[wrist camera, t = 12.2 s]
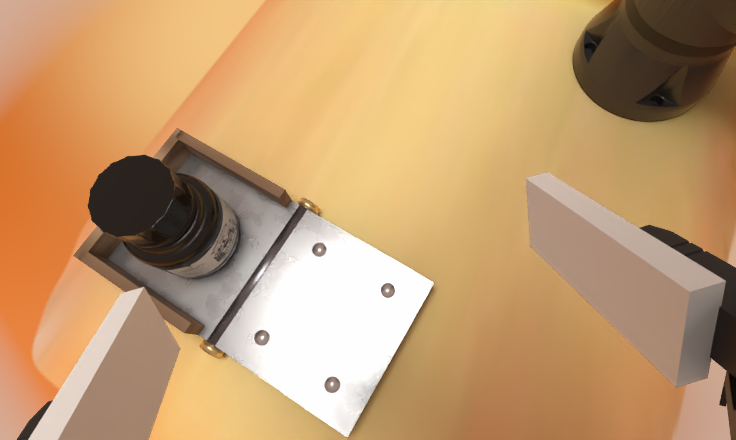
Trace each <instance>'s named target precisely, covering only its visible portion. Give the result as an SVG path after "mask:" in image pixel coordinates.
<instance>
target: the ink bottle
mask: <svg viewBox="0 0 736 440" xmlns="http://www.w3.org/2000/svg"><path fill="white" fill-rule="evenodd" d="M88 208H89V211H90V214H91V220H92V221H93V222H94V223H95V224H96V225H97V226H98V227H99V228H100V229H101V231H102V232H104V233H106V234H109V235H111V236H113V237H116V238H118V239H120V240H122V242H123V244H124V246H125V247H126V249H127V250H128V251H129V253H130V254H131V255H133V256H134V257H135V258H136V259H138V260H139V261H141V262H143V263H145V264H147V265H150V266H153V267H155V268H158V269H160V270H163V271H166V272H168V273H171V274H174V275H176V276H179V277H184V278H200V277H204V276H207V275H210V274H212V273H213V272H215V271H217V270H218V269H219V268H221V267H222V266H223V265H224V264H225V263H226V262H227V261H228V259H229V258H230V257H231V255H232V253H233V252H234V250H235V247H236V245H237V242H238V238H239V223H238V219H237V217H236V215H235V213H234V211H233V210H232V209H231V207H230V206H229V205H228V203H227V202H226V201H225V200H223V199H222V198H221V197H220V196H219V195H218V194H217V193H216V192H215V191H213V190H212V189H211V188H210V187H209V186H207V185H206V184H205V183H204V182H202V181H201V180H199V179H197V178H195V177H193V176H191V175H187V174H182V173H175V172H173V171H172V170H171V169H170V168H169V167H167V166H166V165H165V164H164V163H163V162H162V161H160V160H159V159H155V158H152V157H149V156H147V155H141V156H127V157H125V158H124V159H121V160H119V161H117V162H113V163H112V164H110V166H109V167H108V168H107V169H105V170H104V171H103V172H102V173H101V174H99V175H98V178H97V180H96V182H95V183H94V185H93V187H92V188H91V190H90V197H89V203H88Z"/></svg>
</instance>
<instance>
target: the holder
mask: <svg viewBox="0 0 736 440" xmlns="http://www.w3.org/2000/svg"><path fill="white" fill-rule="evenodd" d="M191 153H193V154H194V155H196V156H198V157H199V158H201V159H203V160H205V161H206V162H208V163H210V164H212V165H213V166H215V167H217V168H218V169H220V170H222V171H224V172H225V173H227V174H229V175H230V176H232V177H234V178H236V179H237V180H239V181H241V182H242V183H244V184H246V185H248V186H249V187H251V188H253V189H254V190H256V191H258V192H260V193H261V194H263V195H265V196H266V197H268V198H270V199H272V200H273V201H275V202H277V203H278V204H280V205H282V206H284V207H285V208H287V207H288V205H289V204H290V202H291V201H292V200H291V198H290V197H289V195H288V194H287V192H286V190H285V189H283V188H281V187H279V186H278V185H276V184H274V183H272V182H271V181H269V180H267V179H265V178H264V177H262V176H260V175H258V174H257V173H255V172H253V171H251V170H250V169H248V168H246V167H244V166H243V165H241V164H239V163H237V162H236V161H234V160H232V159H230V158H229V157H227V156H225V155H223V154H222V153H220V152H218V151H216V150H215V149H213V148H211V147H209V146H208V145H206V144H204V143H202V142H201V141H199V140H197V139H195V138H194V137H192V136H190V135H188V134H187V133H185V132H183V131H181V130H180V129H178V128H177V129H176V130H175V131H174V133H173V134H172V135H171V136H170V137H169V139H168V140H167V141H166V142H165V144H164V145H163V146H162V147H161V149H160V150H159V151H158V152H157V153H156V155H155V156H154V157H153V158H155V159H159V160H160V161H162V162H163V163H164V164H165V165H166V166H167V167H169V168H170V169H171V170H172V171H173V172H175V173H176V172H177V170H178V169H179V168H180V167H181V165H182V164H183V163H184V162H185V160H186V159H187V158H188V156H189V155H190V154H191ZM121 241H122V240H120V239H118V238H116V237H113V236H111V235H109V234H106V233H104V232H102V231H101V229H100V228H99V227H98V226H97V227H96V228H95V230H94V231H93V232H92V233H91V234H90V236H89V237H88V238H87V239H86V241H85V242H84V243H83V244H82V245H81V247H80V248H79V249H78V250H77V252H76V253H75V254H74V255H73V256H75V257H76V258H78V259H79V260H80V261H82V262H83V263H85V264H86V265H88V266H89V267H90V268H92V269H93V270H95V271H96V272H98V273H99V274H100V275H102V276H103V277H105V278H106V279H108V280H109V281H110V282H112V283H113V284H115V285H116V286H118V287H119V288H121V289H122V290H123V291H125V292H128V291H131V290H135V289H138V288H142V287H145V289H146V291H147V293H148V294H149V296H150V298H151V299H152V301H153V303H154V304H155V306H156V308H157V309H158V311H159V313H160V315H161V316H162V318H163V319H165V320H166V321H168V322H169V323H171V324H172V325H173V326H175V327H176V328H178V329H179V330H181V331H182V332H183V333H188V334H196V335H199V334H200V332H201V331H202V329H203V328H204V326H205V325H203V324H202V323H200V322H199V321H198V320H196V319H195V318H193V317H192V316H190V315H189V314H187V313H186V312H184V311H183V310H181V309H180V308H179V307H177V306H176V305H174V304H173V303H171V302H170V301H168V300H167V299H165V298H164V297H163V296H161V295H160V294H158V293H157V292H155V291H154V290H152V289H151V288H149V287H148V286H146V285H145V284H144V283H142V282H141V281H139V280H138V279H136V278H135V277H133V276H132V275H130V274H129V273H128V272H126V271H125V270H123V269H122V268H120V267H119V266H117V265H116V264H114V263H113V262H111V261H110V260H109V259H108V258H109V256H110V255H111V254H112V253H113V251H114V250H115V249H116V248H117V246H118V245H119V244H120V243H121Z"/></svg>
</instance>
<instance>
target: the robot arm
mask: <svg viewBox="0 0 736 440" xmlns="http://www.w3.org/2000/svg"><path fill="white" fill-rule="evenodd" d="M735 46H736V0H614V1H613V2H611V3H610V4H609V5H608V6H607V7H605V8H604V9H603V10H602V11H601V12H599V13H598V14H597V15H596V16H595V17H594V18H593V19H592V20H591V21H590V22H589V23H588V25H587V26H586V28H585V29H584V31H583V33H582V34H581V36H580V38H579V39H578V41H577V43H576V46H575V49H574V53H573V66H574V71H575V74H576V77H577V79H578V81H579V83H580V85H581V87H582V88H583V89H584V91H585V92H586V93H587V94H588V95H589V96H590V98H592V99H593V100H594V101H595V102H596V103H597V104H599V105H600V106H602V107H603V108H605V109H606V110H608V111H610V112H612V113H614V114H617V115H619V116H622V117H625V118H629V119H633V120H639V121H660V120H666V119H670V118H673V117H676V116H679V115H681V114H683V113H685V112H686V111H688V110H689V109H690V108H692V107H693V106H694V105H695V104H696V103H698V102H699V101H700V100H701V99H702V98H704V97H705V96H706V95H707V94H708V92H709V91H710V90H711V89H712V87H713V86H714V84H715V83H716V81H717V79H718V77H719V75H720V73H721V72H722V70H723V68H724V66H725V64H726V62H727V60H728V58H729V57H730V55H731V53H732V51H733V49H734V47H735ZM526 189H527V204H528V219H529V234H530V247H531V248H532V249H533V250H534V251H535V252H536V253H538V254H539V255H540V256H541V257H542V258H543V259H544V260H545V261H546V262H547V263H548V264H549V265H550V266H551V267H552V268H553V269H554V270H555V271H556V272H557V273H558V274H559V275H560V276H561V277H562V278H563V279H564V280H565V281H566V282H567V283H568V284H569V285H571V286H572V287H573V288H574V289H575V290H576V291H577V292H578V293H579V294H580V295H581V296H582V297H583V298H584V299H585V300H586V301H587V302H588V303H589V304H590V305H591V306H592V307H593V308H594V309H595V310H596V311H597V312H598V313H599V314H600V315H601V316H602V317H604V318H605V319H606V320H607V321H608V322H609V323H610V324H611V325H612V326H613V327H614V328H615V329H616V330H617V331H618V332H619V333H620V334H621V335H622V336H623V337H624V338H625V339H626V340H627V341H628V342H629V343H630V344H631V345H632V346H633V347H634V348H635V349H637V350H638V351H639V352H640V353H641V354H642V355H643V356H644V357H645V358H646V359H647V360H648V361H649V362H650V363H651V364H652V365H653V366H654V367H655V368H656V369H657V370H658V371H659V372H660V373H661V374H662V375H663V376H664V377H665V378H666V379H667V380H668V381H670V382H671V383H672V384H673V385H674V386H675V387H676V388H677V387H680V386H683V385H686V384H690V383H693V382H696V381H699V380H702V379H706V378H708V373H709V367H710V362H711V358H712V359H713V360H714V361H715V362H717V363H718V364H719V365H720V366H722V367H723V368H724V369H725V370H727V372H726V377H725V382H724V387H723V390H722V395H721V400H720V404H719V405H722V406H726V404H727V409H728V417H729V426H730V435H731V440H736V268H735V267H733V266H732V265H730V264H728V263H726V262H725V261H723V260H721V259H719V258H717V257H716V256H714V255H712V254H710V253H709V252H707V251H705V252H704V251H703V249H702V248H700V247H698V246H696V245H694V244H693V243H689V241H687V240H686V239H684V238H682V237H680V236H679V235H677V234H675V233H673V232H671V231H668V230H665V229H661V228H658V227H655V226H651V225H648V226H644V227H641V228H638V227H637V226H635V225H633V224H632V223H630V222H628V221H627V220H625V219H623V218H622V217H620V216H618V215H617V214H615V213H614V212H612V211H610V210H609V209H607V208H605V207H604V206H602V205H600V204H599V203H597V202H596V201H594V200H592V199H591V198H589V197H587V196H586V195H584V194H582V193H581V192H579V191H577V190H576V189H574V188H573V187H571V186H569V185H568V184H566V183H564V182H563V181H561V180H559V179H558V178H556V177H554V176H553V175H551V174H550V173H548V172H546V173H542V174H539V175H535V176H532V177H528V178H526ZM179 351H180V347H179V345H178V343H177V342H176V340H175V338H174V337H173V335H172V333H171V331H170V330H169V328H168V326H167V325H166V323H165V321H164V320H163V318H162V316H161V315H160V313H159V311H158V309H157V308H156V306H155V304H154V303H153V301H152V299H151V298H150V296H149V294H148V293H147V291H146V289H145V287H142V288H138V289H135V290H131V291H128V292H124V293H121V294H120V296H119V297H118V299H117V301H116V302H115V304H114V305H113V307H112V308H111V310H110V312H109V313H108V315H107V316H106V318H105V320H104V321H103V323H102V324H101V326H100V327H99V329H98V331H97V332H96V334H95V335H94V337H93V338H92V340H91V342H90V343H89V345H88V346H87V348H86V349H85V351H84V353H83V354H82V356H81V357H80V359H79V360H78V362H77V364H76V365H75V367H74V368H73V370H72V371H71V373H70V375H69V376H68V378H67V379H66V381H65V382H64V384H63V386H62V387H61V389H60V390H59V392H58V393H57V395H56V397H55V398H54V400H53V401H49V402H47V403H46V404H45V405H44V406H43V407H42V408H41V409H40V410H39V411H38V412H37V413H36V414H35V415H34V416H33V417H32V419H30V421H29V422H28V423H27V425H26V426H25V428H24V430H23V431H22V432H21V434H20V435H19V437H18V438H17V440H149V437H150V434H151V431H152V428H153V425H154V422H155V419H156V417H157V414H158V411H159V408H160V405H161V402H162V399H163V397H164V394H165V391H166V388H167V385H168V382H169V379H170V377H171V374H172V371H173V368H174V365H175V362H176V359H177V357H178V354H179Z"/></svg>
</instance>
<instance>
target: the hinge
mask: <svg viewBox="0 0 736 440" xmlns="http://www.w3.org/2000/svg"><path fill="white" fill-rule="evenodd" d="M176 173H182V174H187V175H191V176H193V177H195V178H197V179H199V180H201V181H202V182H204V183H205V184H206V185H207V186H209V187H210V188H211V189H212V190H213V191H215V192H216V193H217V194H218V195H219V196H220V197H221V198H222V199H223V200H225V201H226V202H227V203H228V205H229V206H230V207H231V209H232V210H233V211H234V213H235V215H236V217H237V219H238V223H239V238H238V242H237V245H236V247H235V250H234V252H233V253H232V255H231V257H230V258H229V259H228V261H227V262H226V263H225V264H224V265H223V266H222V267H221V268H219V269H218V270H217V271H215V272H213V273H212V274H210V275H207V276H204V277H200V278H184V277H179V276H176V275H174V274H171V273H168V272H166V271H163V270H160V269H158V268H155V267H153V266H150V265H147V264H145V263H143V262H141V261H139V260H138V259H136V258H135V257H134V256H133V255H131V254H130V253H129V251H128V250H127V249H126V247H125V246H124V244H123V242H122V241H121V243H120V244H119V245H118V246H117V248H116V249H115V250H114V251H113V253H112V254H111V255H110V256H109V258H108V259H109V260H110V261H111V262H113V263H114V264H116V265H117V266H119V267H120V268H122V269H123V270H125V271H126V272H128V273H129V274H130V275H132V276H133V277H135V278H136V279H138V280H139V281H141V282H142V283H144V284H145V285H146V286H148V287H149V288H151V289H152V290H154V291H155V292H157V293H158V294H160V295H161V296H163V297H164V298H165V299H167V300H168V301H170V302H171V303H173V304H174V305H176V306H177V307H179V308H180V309H181V310H183V311H184V312H186V313H187V314H189V315H190V316H192V317H193V318H195V319H196V320H198V321H199V322H200V323H202V324H203V325H205V326H204V328H203V329H202V331H201V332H200V334H199V335H200V336H201V337H203V338H204V340H203V341H202V343H201V344H200V348H201V349H203V350H204V351H205V352H207V353H208V354H210V355H212V356H214V357H216V358H221V357H222V356H223V354H224V353H226V354H227V355H229V356H230V357H231V358H233V359H234V360H236V361H237V362H239V363H240V364H242V365H243V366H244V367H246V368H247V369H249V370H250V371H252V372H253V373H254V374H256V375H257V376H259V377H260V378H262V379H263V380H265V381H266V382H267V383H269V384H270V385H272V386H273V387H275V388H276V389H278V390H279V391H280V392H282V393H283V394H285V395H286V396H288V397H289V398H290V399H292V400H293V401H295V402H296V403H298V404H299V405H301V406H302V407H303V408H305V409H306V410H308V411H309V412H311V413H312V414H314V415H315V416H316V417H318V418H319V419H321V420H322V421H324V422H325V423H326V424H328V425H329V426H331V427H332V428H334V429H335V430H337V431H338V432H339V433H341V434H342V435H344V436H345V437H348V436H349V434H350V432H351V430H352V429H353V427H354V425H355V423H356V421H357V420H358V418H359V416H360V414H361V413H362V411H363V409H364V407H365V405H366V404H367V402H368V400H369V398H370V396H371V395H372V393H373V391H374V389H375V388H376V386H377V384H378V382H379V380H380V379H381V377H382V375H383V373H384V372H385V370H386V368H387V366H388V364H389V363H390V361H391V359H392V357H393V356H394V354H395V352H396V350H397V348H398V347H399V345H400V343H401V341H402V340H403V338H404V336H405V334H406V332H407V331H408V329H409V327H410V325H411V324H412V322H413V320H414V318H415V316H416V315H417V313H418V311H419V309H420V308H421V306H422V304H423V302H424V300H425V299H426V297H427V295H428V293H429V292H430V290H431V288H432V286H433V284H434V282H433V281H431V280H429V279H427V278H426V277H424V276H422V275H420V274H419V273H417V272H415V271H413V270H412V269H410V268H408V267H406V266H405V265H403V264H401V263H400V262H398V261H396V260H394V259H393V258H391V257H389V256H387V255H386V254H384V253H382V252H380V251H379V250H377V249H375V248H374V247H372V246H370V245H368V244H367V243H365V242H363V241H361V240H360V239H358V238H356V237H354V236H353V235H351V234H349V233H347V232H346V231H344V230H342V229H341V228H339V227H337V226H335V225H334V224H332V223H330V222H328V221H327V220H325V219H323V218H321V217H320V216H318V215H317V214H318V212H319V211H320V209H319V208H318V207H317V206H316V205H315V204H313V203H312V202H310V201H309V200H307V199H305V198H301V199H300V200H299V202H298V203H295V202H294V201H291V202H290V204H289V205H288V207H287V208H285V207H284V206H282V205H280V204H278V203H277V202H275V201H273V200H272V199H270V198H268V197H266V196H265V195H263V194H261V193H260V192H258V191H256V190H254V189H253V188H251V187H249V186H248V185H246V184H244V183H242V182H241V181H239V180H237V179H236V178H234V177H232V176H230V175H229V174H227V173H225V172H224V171H222V170H220V169H218V168H217V167H215V166H213V165H212V164H210V163H208V162H206V161H205V160H203V159H201V158H199V157H198V156H196V155H194V154H193V153H191V154H190V155H189V156H188V158H187V159H186V160H185V162H184V163H183V164H182V165H181V167H180V168H179V169H178V170H177V172H176Z"/></svg>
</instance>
